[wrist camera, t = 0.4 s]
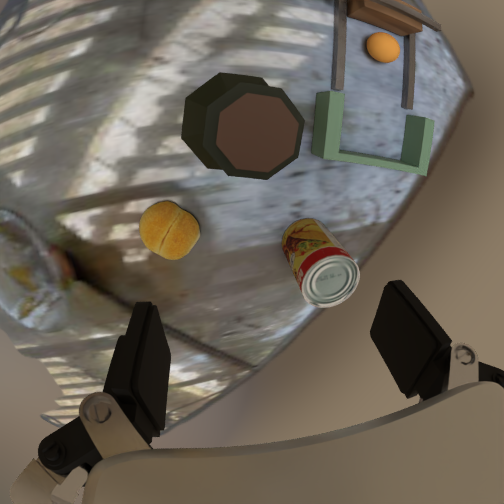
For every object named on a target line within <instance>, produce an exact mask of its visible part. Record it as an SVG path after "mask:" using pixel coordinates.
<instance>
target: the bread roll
mask: <svg viewBox="0 0 504 504" xmlns="http://www.w3.org/2000/svg"><path fill="white" fill-rule="evenodd" d="M139 231H140V236H141V239H142V240H143V242H144V244H145V245H146V247H147V248H148V249H149V250H151V251H153V252H155V253H157V254H159V255H161V256H162V257H164V258H166V259H172V260H176V259H180V258H182V257H183V256H185V255H186V254H188V253H189V252H190V250H191V249H192V247H193V246H194V245H195V243H196V242H197V241H198V239H199V237H200V231H199V225H198V223H197V221H196V219H195V218H194V217H193V216H192V215H191V214H190V213H188V212H186V211H184V210H182V209H181V208H179V207H178V206H177V205H176V204H174V203H172V202H169V201H164V202H160V203H157V204H154V205H152V206H151V207H149V208H148V209H147V210H146V211H145V212H144V213H143V215H142V217H141V220H140V223H139Z"/></svg>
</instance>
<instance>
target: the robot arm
mask: <svg viewBox="0 0 504 504" xmlns="http://www.w3.org/2000/svg"><path fill="white" fill-rule="evenodd" d="M370 335H371V338H372V340H373V342H374V343H375V345H376V347H377V349H378V350H379V352H380V354H381V356H382V358H383V359H384V361H385V363H386V365H387V367H388V369H389V370H390V372H391V374H392V376H393V378H394V380H395V381H396V383H397V385H398V387H399V389H400V391H401V392H402V393H403V394H405V396H406V398H407V399H408V398H411V397H414V396H416V395H417V394H419V396H420V400H419V403H418V404H415V405H413V406H410V407H408V408H406V409H403V410H400V411H397V412H395V413H392V414H389V415H386V416H383V417H380V418H377V419H374V420H371V421H368V422H364V423H361V424H358V425H354V426H351V427H347V428H343V429H339V430H335V431H331V432H327V433H322V434H318V435H313V436H308V437H303V438H297V439H292V440H285V441H279V442H272V443H264V444H256V445H246V446H232V447H216V448H179V449H178V448H175V449H174V448H173V449H153V448H152V447H151V445H150V443H151V442H152V437H160V430H164V428H165V416H166V404H167V392H168V382H169V372H170V363H171V353H170V349H169V346H168V343H167V340H166V336H165V333H164V330H163V326H162V323H161V319H160V316H159V312H158V309H157V306H156V305H152V303H151V302H136V304H135V307H134V310H133V313H132V316H131V319H130V322H129V325H128V328H127V332H126V335H121V336H120V337H119V338H118V341H117V344H116V347H115V350H114V353H113V357H112V360H111V364H110V367H109V371H108V374H107V378H106V381H105V385H104V389H103V392H94V393H92V394H89V395H88V396H86V397H85V398H84V399H83V401H82V402H81V404H80V407H79V415H80V416H79V417H77V418H76V419H74V420H72V421H71V422H69V423H68V424H66V425H65V426H63V427H61V428H60V429H58V430H57V431H55V432H53V433H52V434H50V435H49V436H47V437H45V438H44V439H43V440H42V441H41V443H40V445H39V448H38V456H39V457H38V458H37V460H35V459H34V458H33V459H32V461H31V462H30V463H29V464H28V465H27V467H26V468H25V469H24V470H23V472H22V473H21V474H20V475H19V476H18V478H17V479H16V480H15V482H14V483H13V484H12V486H11V488H10V497H11V500H12V502H13V503H14V504H73V503H74V501H75V499H76V497H77V496H78V495H79V494H78V493H77V492H78V491H79V490H80V488H81V487H85V488H84V492H83V498H82V504H504V371H503V370H501V369H499V368H496V367H493V366H490V365H487V364H484V363H482V362H479V361H478V355H477V353H476V351H475V350H474V349H473V348H472V347H471V346H469V345H468V344H465V343H457V344H455V345H454V346H453V347H451V346H450V344H451V342H452V340H451V339H450V338H449V336H448V335H447V334H446V332H445V331H444V330H443V329H442V327H441V326H440V325H439V324H438V322H437V321H436V320H435V319H434V317H433V316H432V315H431V314H430V312H429V311H428V310H427V309H426V308H425V306H424V305H423V304H422V303H421V302H420V300H419V299H418V298H417V297H416V296H415V295H414V293H413V292H412V291H411V290H410V289H409V288H408V287H407V285H406V284H405V283H404V282H403V281H402V280H395V281H390V282H388V283H387V285H386V286H385V287H384V290H383V293H382V297H381V300H380V303H379V306H378V309H377V312H376V315H375V318H374V321H373V324H372V327H371V330H370Z"/></svg>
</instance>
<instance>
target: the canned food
mask: <svg viewBox="0 0 504 504" xmlns="http://www.w3.org/2000/svg"><path fill="white" fill-rule="evenodd" d="M282 249H283V251H284V253H285V256H286V258H287V260H288V262H289V265H290V267H291V269H292V271H293V274H294V276H295V278H296V280H297V283H298V285H299V287H300V290H301V292H302V294H303V296H304V299H305V300H306V301H307V302H308V303H309V304H311V305H313V306H315V307H320V308H327V307H332V306H335V305H337V304H340V303H342V302H343V301H344V300H346V299H347V298H348V297H349V296H350V295H351V294H352V293H353V292H354V290H355V289H356V287H357V285H358V282H359V277H360V272H359V268H358V266H357V264H356V263H355V261H354V260H353V259H352V258H351V256H350V255H349V254H348V253H347V251H346V250H345V249H344V248H343V247H342V245H341V244H340V243H339V242H338V241H337V239H336V238H335V237H334V236H333V235H332V234H331V232H330V231H329V230H328V229H327V228H326V227H325V225H324V224H323V223H321V222H320V221H318V220H316V219H312V218H305V219H300V220H298V221H296V222H294V223H293V224H291V225H290V226H289V227H288V228H287V230H286V231H285V233H284V235H283V238H282Z"/></svg>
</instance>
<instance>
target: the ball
mask: <svg viewBox="0 0 504 504" xmlns="http://www.w3.org/2000/svg"><path fill="white" fill-rule="evenodd" d="M367 49H368V52H369V53H370V55H371V56H372V57H373V58H374V59H376V60H378V61H380V62H384V63H389V62H393V61H394V60H396V59H397V58H398V56H399V53H400V47H399V44H398V42H397V41H396V39H395V38H393V37H392V36H391V35H389V34H387V33H383V32H377V33H374V34H372V35H371V36H370V37H369V38H368V40H367Z"/></svg>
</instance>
